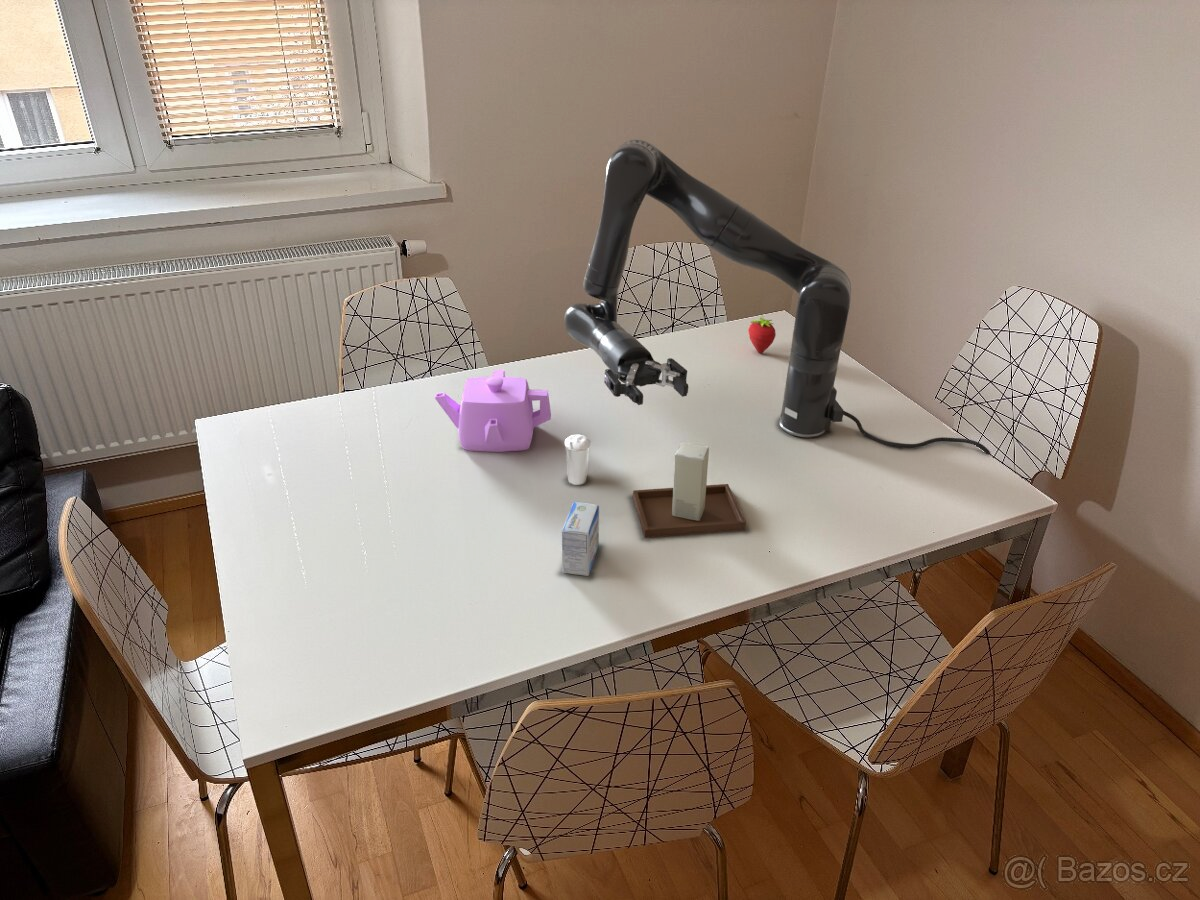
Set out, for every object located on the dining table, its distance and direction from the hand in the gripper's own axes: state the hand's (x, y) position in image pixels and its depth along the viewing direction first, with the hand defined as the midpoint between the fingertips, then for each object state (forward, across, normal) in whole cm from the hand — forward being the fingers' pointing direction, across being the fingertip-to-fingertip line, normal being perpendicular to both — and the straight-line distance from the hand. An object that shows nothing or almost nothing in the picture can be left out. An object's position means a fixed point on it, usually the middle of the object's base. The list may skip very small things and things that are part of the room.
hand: (663, 396), depth 152 cm
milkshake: (-5, -14, +18) cm, 23 cm away
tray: (+11, 0, +18) cm, 21 cm away
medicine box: (+16, -22, +18) cm, 32 cm away
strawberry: (-38, +45, +18) cm, 62 cm away
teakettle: (-25, -23, +18) cm, 39 cm away
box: (+11, 0, +17) cm, 21 cm away
